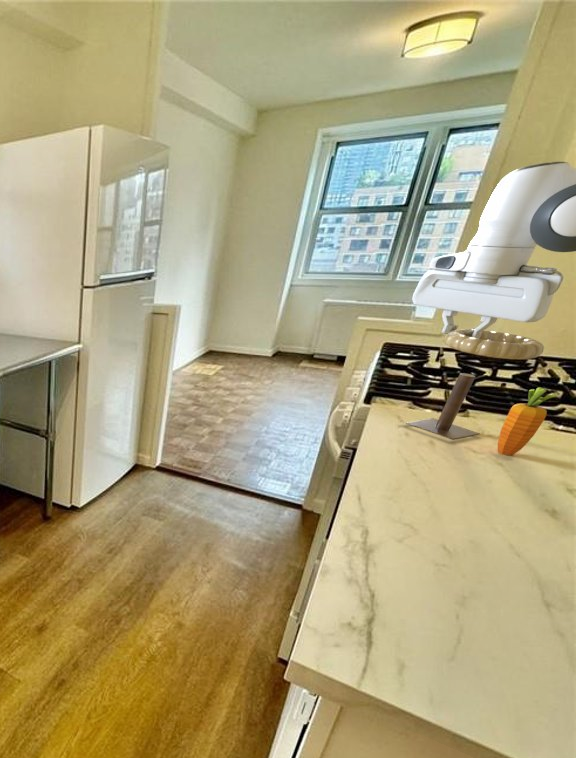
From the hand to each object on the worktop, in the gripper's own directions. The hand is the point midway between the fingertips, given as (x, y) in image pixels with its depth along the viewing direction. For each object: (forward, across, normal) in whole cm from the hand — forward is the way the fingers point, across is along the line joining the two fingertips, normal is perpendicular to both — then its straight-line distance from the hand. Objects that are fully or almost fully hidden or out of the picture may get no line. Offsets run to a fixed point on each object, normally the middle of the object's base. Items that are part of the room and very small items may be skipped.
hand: (459, 336), depth 97 cm
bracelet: (0, -5, 0) cm, 5 cm away
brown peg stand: (+21, -2, -4) cm, 22 cm away
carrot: (+22, -14, -2) cm, 26 cm away
